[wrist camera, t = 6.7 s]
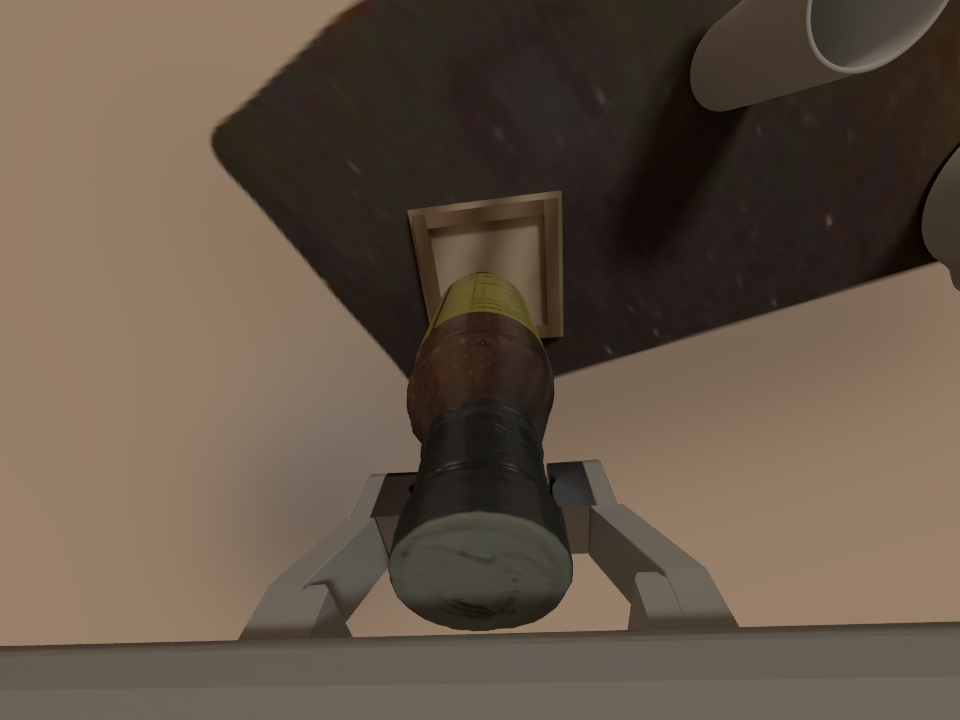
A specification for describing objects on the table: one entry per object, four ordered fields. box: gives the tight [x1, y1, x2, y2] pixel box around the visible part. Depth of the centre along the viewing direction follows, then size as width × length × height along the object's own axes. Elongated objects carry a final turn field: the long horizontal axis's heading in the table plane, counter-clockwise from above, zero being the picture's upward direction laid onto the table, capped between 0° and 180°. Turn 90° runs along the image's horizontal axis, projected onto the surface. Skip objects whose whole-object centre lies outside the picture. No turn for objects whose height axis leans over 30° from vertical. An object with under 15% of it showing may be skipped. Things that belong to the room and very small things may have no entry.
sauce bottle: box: [388, 271, 573, 631], centre depth 16 cm, size 6×6×20 cm
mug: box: [690, 0, 949, 112], centre depth 21 cm, size 10×7×12 cm, turn 20°
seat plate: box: [408, 191, 563, 338], centre depth 34 cm, size 14×14×2 cm
